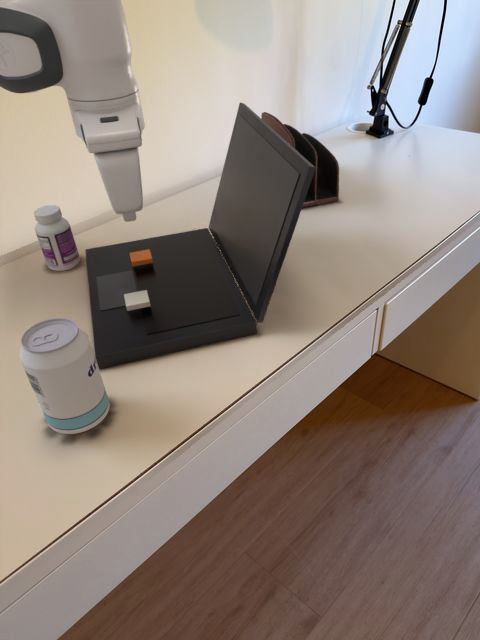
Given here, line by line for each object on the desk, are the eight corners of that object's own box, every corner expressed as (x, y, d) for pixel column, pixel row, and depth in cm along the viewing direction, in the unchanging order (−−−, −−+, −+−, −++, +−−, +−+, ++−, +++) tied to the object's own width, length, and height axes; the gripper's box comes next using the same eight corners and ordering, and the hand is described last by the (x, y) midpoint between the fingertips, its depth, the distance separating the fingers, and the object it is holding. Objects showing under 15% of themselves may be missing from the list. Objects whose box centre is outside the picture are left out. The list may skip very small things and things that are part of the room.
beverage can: (115, 429, 59) (88, 345, 51) (51, 447, 57) (13, 363, 49) (107, 390, 64) (81, 308, 56) (48, 405, 62) (13, 323, 54)
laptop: (99, 369, 67) (95, 356, 65) (88, 259, 89) (85, 248, 88) (257, 334, 71) (256, 321, 70) (208, 238, 94) (207, 227, 92)
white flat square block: (127, 311, 71) (126, 306, 71) (125, 298, 74) (123, 294, 73) (150, 306, 72) (149, 301, 72) (147, 294, 75) (146, 289, 74)
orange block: (132, 266, 81) (131, 262, 80) (130, 257, 83) (129, 252, 83) (153, 262, 82) (152, 258, 81) (150, 253, 84) (149, 249, 83)
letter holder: (290, 210, 101) (290, 134, 92) (261, 175, 116) (258, 106, 107) (339, 202, 103) (342, 127, 94) (304, 168, 118) (304, 100, 109)
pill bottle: (79, 253, 91) (64, 200, 85) (81, 268, 87) (65, 213, 81) (47, 259, 90) (29, 206, 84) (47, 274, 86) (28, 219, 80)
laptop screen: (309, 166, 59) (316, 167, 59) (239, 102, 81) (244, 103, 82) (256, 322, 70) (262, 322, 70) (207, 227, 92) (212, 228, 93)
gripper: (80, 100, 75) (103, 193, 83) (85, 143, 59) (112, 252, 68) (125, 95, 76) (143, 187, 85) (141, 136, 61) (161, 244, 69)
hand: (129, 217), depth 76 cm, fingers closed
